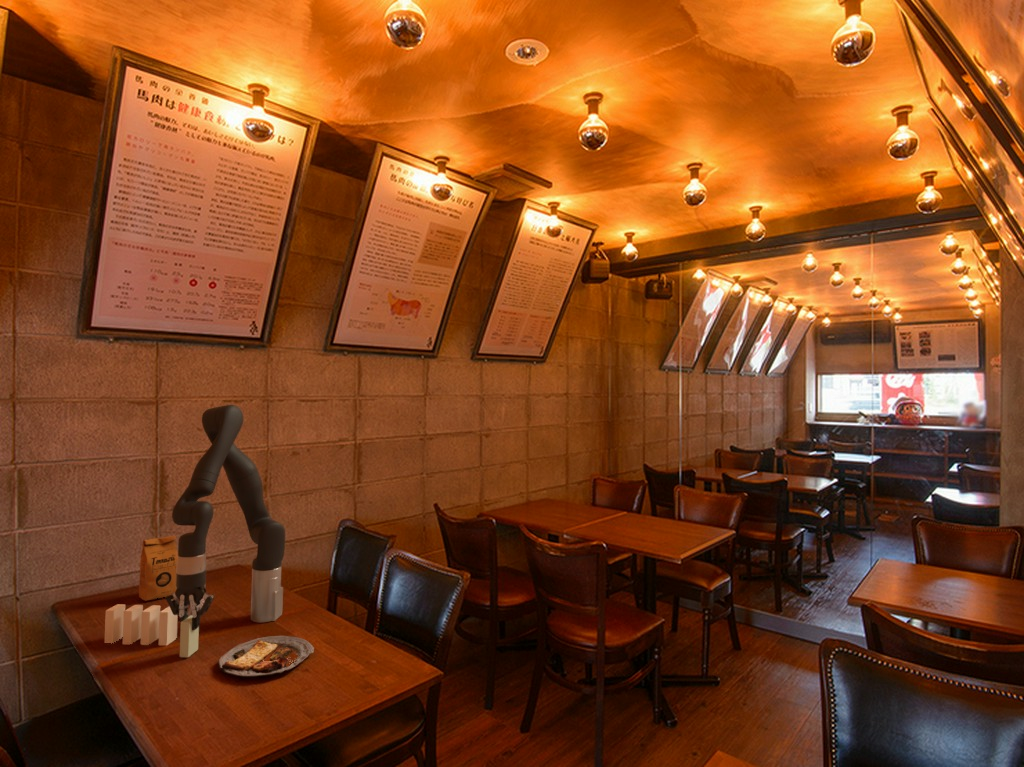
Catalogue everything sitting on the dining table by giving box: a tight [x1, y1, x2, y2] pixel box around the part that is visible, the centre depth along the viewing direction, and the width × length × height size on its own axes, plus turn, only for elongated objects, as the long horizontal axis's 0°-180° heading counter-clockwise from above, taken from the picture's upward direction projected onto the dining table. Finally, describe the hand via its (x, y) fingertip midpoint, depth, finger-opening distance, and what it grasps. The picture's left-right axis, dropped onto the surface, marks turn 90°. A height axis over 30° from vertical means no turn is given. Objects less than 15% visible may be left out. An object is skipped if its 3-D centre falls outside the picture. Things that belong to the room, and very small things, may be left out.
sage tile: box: [179, 615, 200, 658], centre depth 163 cm, size 2×5×10 cm, turn 0°
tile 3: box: [140, 604, 161, 646], centre depth 171 cm, size 2×5×10 cm, turn 0°
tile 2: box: [122, 604, 144, 645], centre depth 171 cm, size 2×5×10 cm, turn 0°
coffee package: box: [138, 535, 178, 602], centre depth 207 cm, size 10×12×22 cm
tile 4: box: [158, 605, 179, 647], centre depth 171 cm, size 2×5×10 cm, turn 179°
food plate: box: [217, 635, 315, 678], centre depth 161 cm, size 25×23×4 cm
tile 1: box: [104, 603, 126, 645], centre depth 171 cm, size 2×5×10 cm, turn 179°
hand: (189, 628), depth 163 cm, fingers closed on sage tile, 2 cm apart
